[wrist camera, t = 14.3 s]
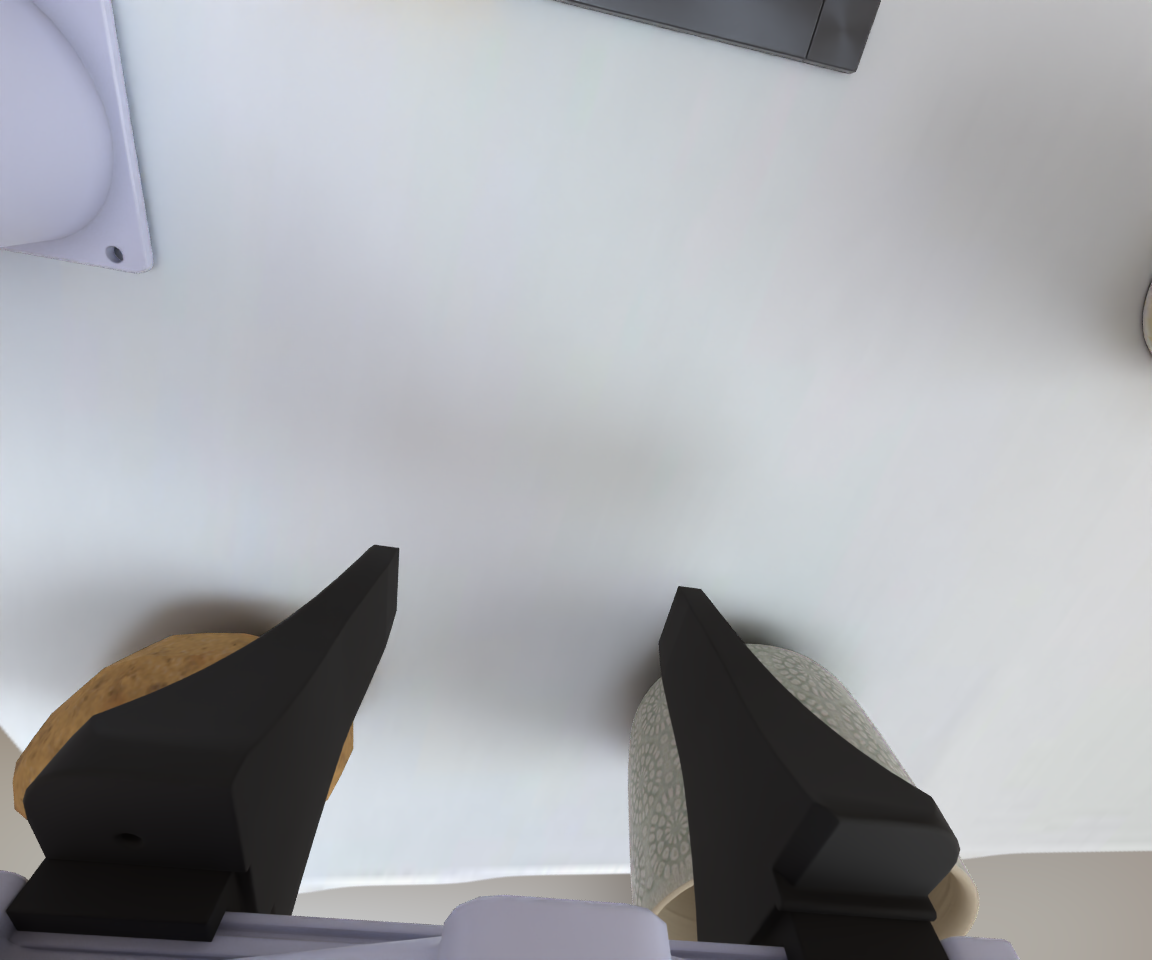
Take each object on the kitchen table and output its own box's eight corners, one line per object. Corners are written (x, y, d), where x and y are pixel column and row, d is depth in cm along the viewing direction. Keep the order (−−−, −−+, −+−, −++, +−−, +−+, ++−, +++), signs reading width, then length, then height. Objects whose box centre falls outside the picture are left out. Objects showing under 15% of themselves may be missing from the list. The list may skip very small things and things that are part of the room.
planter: (671, 790, 34) (714, 1030, 25) (570, 666, 29) (575, 911, 19) (872, 719, 31) (1007, 959, 22) (801, 567, 26) (940, 797, 16)
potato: (55, 620, 27) (-126, 780, 20) (335, 566, 25) (249, 717, 18) (170, 748, 31) (56, 915, 24) (410, 707, 30) (365, 870, 23)
